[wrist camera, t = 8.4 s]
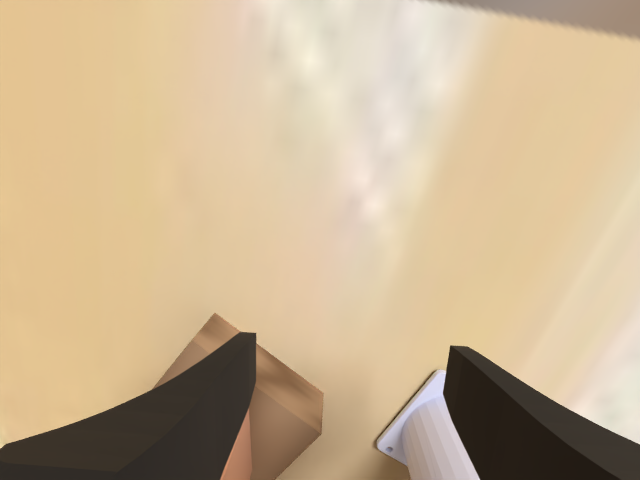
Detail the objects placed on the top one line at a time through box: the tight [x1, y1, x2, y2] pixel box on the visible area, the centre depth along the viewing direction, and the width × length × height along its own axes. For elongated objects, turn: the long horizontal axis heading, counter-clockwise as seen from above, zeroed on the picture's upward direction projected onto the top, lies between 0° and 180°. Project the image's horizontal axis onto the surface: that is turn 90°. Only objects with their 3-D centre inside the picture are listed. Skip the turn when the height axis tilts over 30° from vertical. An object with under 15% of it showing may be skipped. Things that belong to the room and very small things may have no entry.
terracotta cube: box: [220, 409, 252, 480], centre depth 17 cm, size 5×5×5 cm
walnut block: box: [152, 313, 323, 480], centre depth 21 cm, size 10×10×4 cm
